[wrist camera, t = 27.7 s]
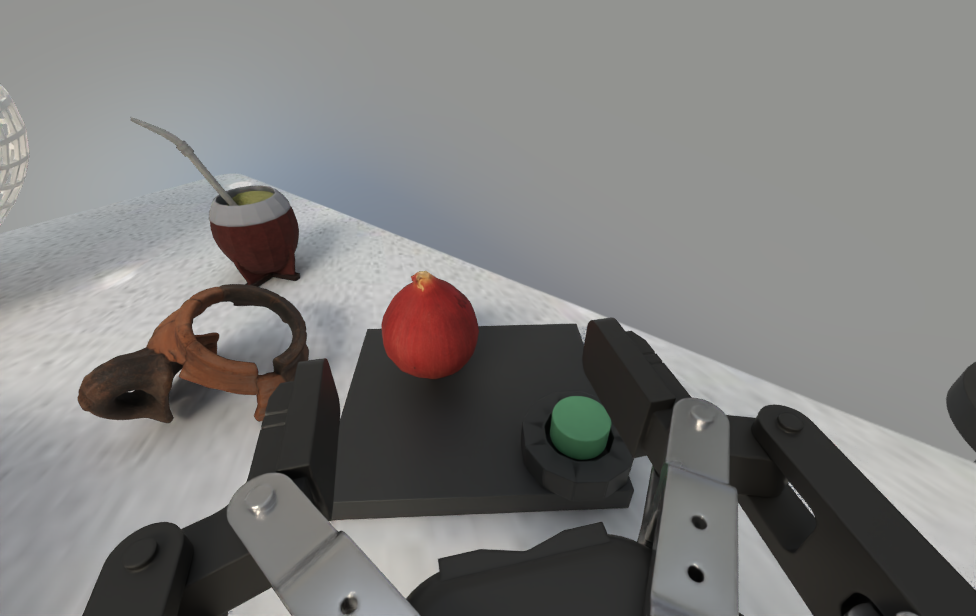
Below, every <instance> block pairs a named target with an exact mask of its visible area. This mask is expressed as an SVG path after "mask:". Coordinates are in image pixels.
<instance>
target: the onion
mask: <svg viewBox="0 0 976 616" xmlns="http://www.w3.org/2000/svg"><path fill="white" fill-rule="evenodd" d="M411 278H412V281H413V282H412V283H410V284H408V285H407V286H405V287H404V288H403V289H402V290H401V291H400V292H399V293H397V294H396V295H395V297H394V298H393V299H392V301H391V303H390V305H389V306H388V308H387V310H386V312H385V314H384V316H383V320H382V337H383V344H384V348H385V351H386V354H387V356H388V357H389V358H390V359H391V360H392V361H393V362H394V363H395V364H396V365H397V366H398V367H399V369H400V370H401V371H403V372H405V373H408V374H410V375H413V376H415V377H419V378H428V379H438V378H443V377H446V376H449V375H452V374H454V373H456V372H458V371H459V370H460V369H461V368H462V367H463V366H464V365H465V364H466V363H467V362H468V361H469V359H470V358H471V356H472V355H473V353H474V350H475V347H476V344H477V340H478V334H479V329H478V323H477V318H476V315H475V312H474V309H473V307H472V305H471V303H470V301H469V300H468V299H467V297H466V296H465V295H464V294H462V293H461V292H460V291H459V290H458V289H456V288H455V287H454V286H453V285H451V284H450V283H448V282H446V281H444V280H441V279H438V278H436V277H435V276H433V275H431V274H430V273H428V272H427V271H419V272H417V273H416V274H415V275H413V276H411Z"/></svg>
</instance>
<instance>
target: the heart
mask: <svg viewBox="0 0 976 616" xmlns="http://www.w3.org/2000/svg"><path fill="white" fill-rule="evenodd" d="M0 96H1V97H2V99H1V97H0V112H2V113H3V115H4V118H5V119H1V118H0V171H1V174H0V193H1V194H4V195H3V197H2V199H1V200H0V226H1V224H2V223H3V221H4V220H5V218H6V217H7V215H8V213H9V211H10V210H11V208H12V207H13V205H14V204H15V202H16V199H17V197H18V195H19V193H20V190H21V188H22V186H23V183H24V181H25V177H26V172H27V167H28V161H29V145H28V138H27V130H26V127H25V124H24V122H23V120H22V117H21V116H20V113H19V111H18V109H17V107H16V105H15V103H14V101H13V99H12V97H11V96H10V95H9V93H8V92H7V90H6V89H5V88H4V87H3V86H2V85H1V84H0ZM7 107H8V109H9V111H10V113H11V115H12V117H13V119H11V117H10V115H9V113H8V110H7ZM2 124H7V126H8V133H9V135H7V136H6V134H5V132H4V130H3V125H2ZM14 124H15V125H14ZM15 127H16V128H15ZM9 143H10V144H9ZM9 149H10V150H9ZM14 155H15V159H14ZM2 157H3V164H1V161H2ZM13 167H14V168H13ZM12 168H13V169H12ZM10 173H12V176H11V180H10V183H7V184H5V183H6V181H7V179H8V177H9V175H10ZM17 178H18V180H17ZM8 198H9V200H8ZM7 200H8V202H7ZM2 209H3V210H2ZM1 210H2V211H1Z"/></svg>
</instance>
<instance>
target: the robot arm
mask: <svg viewBox="0 0 976 616" xmlns="http://www.w3.org/2000/svg"><path fill="white" fill-rule="evenodd" d="M582 363H583V369H584V372H585V374H586V376H587V378H588V380H589V382H590V384H591V385H592V387H593V389H594V391H595V392H596V394H597V396H598V398H599V399H600V401H601V403H602V405H603V406H604V408H605V410H606V412H607V413H608V415H609V417H610V419H611V420H612V422H613V424H614V426H615V427H616V429H617V431H618V433H619V434H620V436H621V438H622V440H623V441H624V443H625V445H626V447H627V448H628V450H629V452H630V454H631V455H632V457H633V458H637V457H642V456H648V458H649V460H650V461H651V463H652V465H653V466H652V469H651V474H650V480H649V486H648V491H647V497H646V503H645V508H644V514H643V520H642V525H641V529H640V533H639V536H638V540H637V542H636V541H634V540H631V539H628V538H625V537H622V536H617V535H611V534H607V532H606V530H605V527H604V525H603V523H602V522H599V523H594V524H590V525H586V526H581V527H577V528H572V529H568V530H564V531H562V532H560V533H558V534H557V535H555V536H553V537H551V538H549V539H548V540H546V541H544V542H542V543H540V544H539V545H537V546H535V547H533V548H531V549H529V550H527V551H506V550H486V549H479V550H475V551H471V552H466V553H462V554H457V555H453V556H448V557H444V558H440V559H438V562H439V571H440V572H438V573H436V574H434V575H433V576H431V577H429V578H428V579H427V580H425V581H424V582H422V583H421V584H420V585H419V586H418V587H417V588H416V589H415V590H414V591H412V593H411V594H410V595H409V596H408V597H407V598H406V599H405V598H404V597H403V596H402V594H401V593H400V592H399V591H398V590H397V589H396V588H395V587H394V586H393V584H392V583H391V582H390V581H389V580H388V579H387V578H386V577H385V576H384V574H383V573H382V572H381V571H380V570H379V569H378V568H377V567H376V566H375V564H374V563H373V562H372V561H371V560H370V559H369V558H368V557H367V556H366V554H365V553H364V552H363V551H362V550H361V549H360V548H359V547H358V546H357V545H356V543H355V542H354V541H353V540H352V539H351V538H350V537H349V536H348V535H347V534H346V533H345V532H343V531H340V532H338V531H337V530H336V529H335V528H334V527H333V526H332V525H331V524H330V523H329V522H328V521H332V513H333V500H334V488H335V475H336V462H337V449H338V437H339V424H340V403H339V397H338V393H337V390H336V386H335V383H334V379H333V376H332V373H331V369H330V366H329V362H328V360H327V359H326V358H323V359H316V360H309V361H302V362H299V363H298V364H297V368H296V373H295V378H294V381H290V382H283V383H280V384H279V385H278V387H277V388H276V389H275V391H274V392H273V393H272V394H271V396H270V397H269V399H268V403H267V407H266V411H265V417H264V419H263V422H262V426H261V427H262V430H260V434H259V438H258V441H257V445H256V449H255V453H254V457H253V461H252V464H251V468H250V472H249V476H248V479H247V482H246V483H245V484H244V485H243V486H242V487H240V488H239V489H238V490H237V492H236V493H235V494H234V495H233V497H232V499H231V500H230V503H229V504H228V505H227V506H226V507H225V508H223V509H221V510H220V511H218V512H217V513H215V514H213V515H211V516H209V517H206V518H204V519H202V520H200V521H198V522H196V523H193V524H191V525H189V526H187V527H185V528H183V529H180V528H179V527H178V526H177V525H175V524H173V523H169V522H159V523H154V524H151V525H148V526H145V527H143V528H141V529H139V530H137V531H135V532H134V533H132V534H131V535H129V536H128V537H127V538H125V539H124V540H123V541H122V542H121V543H120V544H119V545H118V546H117V547H116V548H115V549H114V550H113V551H112V552H111V553H110V555H109V556H108V558H107V559H106V561H105V563H104V565H103V567H102V570H101V572H100V575H99V577H98V579H97V582H96V584H95V587H94V589H93V591H92V594H91V596H90V599H89V601H88V603H87V606H86V608H85V611H84V613H83V615H82V616H228V611H230V610H231V609H233V608H235V607H237V606H239V605H240V604H242V603H244V602H246V601H248V600H249V599H251V598H253V597H255V596H257V595H258V594H260V593H262V592H264V591H266V590H267V589H269V588H271V587H272V588H273V590H274V591H275V592H276V594H277V595H278V597H279V598H280V600H281V601H282V603H283V604H284V606H285V607H286V608H287V610H288V611H289V613H290V614H291V616H743V615H742V614H741V613H739V598H738V503H739V504H740V506H741V507H742V509H743V510H744V512H745V513H746V515H747V516H748V518H749V519H750V521H751V522H752V524H753V525H754V527H755V528H756V530H757V531H758V533H759V534H760V536H761V537H762V539H763V540H764V542H765V543H766V545H767V546H768V548H769V549H770V551H771V552H772V554H773V555H774V557H775V558H776V560H777V561H778V563H779V564H780V566H781V568H782V569H783V571H784V572H785V574H786V575H787V577H788V578H789V580H790V581H791V583H792V584H793V586H794V587H795V589H796V590H797V592H798V593H799V595H800V596H801V598H802V599H803V601H804V602H805V604H806V605H807V607H808V608H809V610H810V611H811V613H812V614H813V616H976V590H975V589H974V588H973V587H972V586H971V585H970V584H969V583H968V582H967V581H966V580H965V579H964V578H963V577H962V576H961V575H960V574H959V573H958V572H957V571H956V570H955V569H954V568H953V567H952V566H951V564H950V563H949V562H948V561H947V560H946V559H945V558H944V557H943V556H942V555H941V554H940V553H939V552H938V551H937V550H936V549H935V548H934V547H933V546H932V545H931V544H930V543H929V542H928V541H927V540H926V539H925V538H924V537H923V536H922V534H921V533H920V532H919V531H918V530H917V529H916V528H915V527H914V526H913V525H912V524H911V523H910V522H909V521H908V520H907V519H906V518H905V517H904V516H903V515H902V514H901V513H900V512H899V511H898V510H897V509H896V508H895V507H894V506H893V505H892V503H891V502H890V501H889V500H888V499H887V498H886V497H885V496H884V495H883V494H882V493H881V492H880V491H879V490H878V489H877V488H876V487H875V486H874V485H873V484H872V483H871V482H870V481H869V480H868V479H867V478H866V477H865V476H864V475H863V473H862V472H861V471H860V470H859V469H858V468H857V467H856V466H855V465H854V464H853V463H852V462H851V461H850V460H849V459H848V458H847V457H846V456H845V455H844V454H843V453H842V452H841V451H840V450H839V449H838V448H837V447H836V446H835V445H834V443H833V442H832V441H831V440H830V439H829V438H828V437H827V436H826V435H825V434H824V433H823V432H822V431H821V430H820V429H819V428H818V427H817V426H816V425H815V424H814V423H813V422H812V421H811V420H810V419H809V418H808V417H806V416H805V415H804V414H802V413H800V412H799V411H797V410H795V409H792V408H790V407H786V406H782V405H768V406H765V407H763V408H762V409H761V410H760V411H759V413H758V415H757V417H756V418H751V417H741V416H731V415H725V414H724V412H723V411H722V410H721V409H720V408H718V407H717V406H715V405H714V404H712V403H710V402H708V401H705V400H703V399H698V398H692V397H691V396H690V395H689V394H688V392H687V391H686V390H685V389H684V387H683V386H682V385H681V384H680V382H679V381H678V380H677V379H676V377H675V376H674V375H673V374H672V373H671V371H670V370H669V369H668V368H667V366H666V365H665V364H664V363H662V360H661V359H660V358H659V356H658V355H657V354H655V351H654V350H653V349H652V348H651V346H650V345H649V344H648V343H647V341H646V340H645V339H643V338H641V337H640V336H638V335H637V334H635V333H634V332H632V331H627V332H625V330H624V329H623V328H622V327H621V325H620V324H619V323H618V321H617V320H616V319H615V318H605V319H598V320H591V321H589V323H588V326H587V332H586V338H585V344H584V350H583V356H582ZM788 482H790V483H791V484H792V485H793V487H794V488H795V489H796V490H797V492H798V493H799V494H800V495H801V497H802V498H803V499H804V500H805V502H806V503H807V504H808V505H809V507H810V508H811V510H812V511H813V513H814V516H815V517H814V516H813V515H812V514H811V512H810V511H809V510H808V509H807V507H806V506H805V505H804V504H803V502H802V501H801V500H800V499H799V497H798V496H797V495H796V493H795V492H794V491H793V490H792V488H791V487H790V486H789V485H788Z"/></svg>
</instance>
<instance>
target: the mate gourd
mask: <svg viewBox="0 0 976 616" xmlns="http://www.w3.org/2000/svg"><path fill="white" fill-rule="evenodd" d="M131 121H132V122H134V123H136V124H139V125H141V126H143V127H145V128H147V129H149V130H151V131H153V132H155V133H157V134H159V135H161V136H163V137H165V138H166V139H168V140H170V141H171V142H173V143H174V144H175V145H176V146H177V147H176V148H177V149H178V150H179V151H181V153H182V154H183V155H184V156H185V157H186V156H187V157H188V158H189V159H190V160H191V162H192V163H193V164H194V165H195V166H196V168H197V169H198V170H199V171H200V172H201V173H202V174H203V176H204V177H205V178H206V179H207V181H208V182H209V183H210V184H211V185H212V186H213V188H214V189H215V190H216V191H217V192H218V193H219V195H218V196H217V197H215V198H214V199H213V202H212V204H211V208H210V211H209V220H210V226H211V231H212V235H213V238H214V240H215V241H216V243H217V245H218V247H219V248H220V249H221V250H222V252H223V253H224V254H225V255H226V256H227V257H228V258H229V259H230V260H231V261H232V262H234V264H235V266H236V267H237V269H238V270H239V272H240V273H241V274H242V276H243V277H244V278H245V280H246V281H247V284H245V285H251V286H257V287H259V286H260V285H261V284H263V283H264V282H266V281H267V280H269V279H270V278H272V277H276V278H282V279H287V280H293V281H296V280H298V279H299V278H300V273H297V272H295V254H294V253H295V250H296V248H297V244H298V238H299V228H298V222H297V219H296V217H295V214H294V211H293V209H292V207H291V206H290V204H289V201H288V200H287V199H286V198H285V197H284V195H283V194H281V193H280V192H279V191H278V190H276V189H274V188H271V187H267V186H247V187H240V188H236V189H232V190H228V191H225V190H224V189H223V188H222V187H221V185H220V184H219V183H218V182H217V181H216V179H215V178H214V177H213V176H212V175H211V174H210V172H209V171H208V170H207V169H206V167H205V166H204V165H203V164H202V163H201V161H200V160H199V159H198V158H197V156H196V155H195V154H194V153H193V152H194V150H193V149H192V148H191V147H190V146H188V144H187V143H186V142H185V141H182V140H180V139H179V138H178V137H176V136H175V135H173V134H171V133H169V132H168V131H166V130H164V129H161V128H159V127H156V126H154V125H151V124H148V123H146V122H143V121H140V120H138V119H135V118H132V117H131Z"/></svg>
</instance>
